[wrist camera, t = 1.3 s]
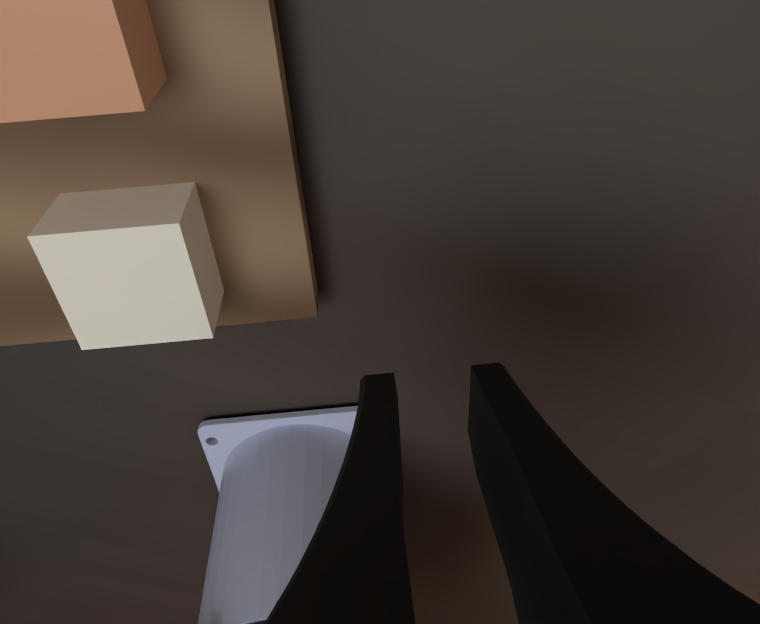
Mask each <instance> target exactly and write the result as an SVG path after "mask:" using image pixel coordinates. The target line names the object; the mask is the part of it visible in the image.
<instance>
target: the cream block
mask: <svg viewBox="0 0 760 624" xmlns="http://www.w3.org/2000/svg"><path fill="white" fill-rule="evenodd" d="M27 238H28V240H29V242H30V244H31V246H32V248H33V250H34V252H35V254H36V256H37V258H38V260H39V262H40V264H41V267H42V269H43V271H44V273H45V275H46V277H47V279H48V281H49V283H50V285H51V287H52V289H53V291H54V293H55V295H56V298H57V300H58V302H59V304H60V306H61V308H62V310H63V312H64V314H65V316H66V318H67V320H68V322H69V324H70V326H71V329H72V331H73V333H74V335H75V337H76V339H77V341H78V343H79V345H80V347H81V349H82V350H88V349H99V348H110V347H121V346H132V345H142V344H153V343H164V342H175V341H186V340H197V339H208V338H213V337H214V333H215V328H216V324H217V320H218V315H219V311H220V306H221V302H222V298H223V293H224V288H223V285H222V281H221V277H220V273H219V270H218V266H217V262H216V259H215V255H214V251H213V247H212V244H211V240H210V236H209V233H208V229H207V225H206V221H205V218H204V214H203V210H202V206H201V203H200V199H199V195H198V192H197V188H196V184H195V182H190V183H178V184H167V185H155V186H143V187H132V188H120V189H109V190H97V191H85V192H74V193H62V194H59V196H58V197H57V198H56V199H55V201H54V202H53V203H52V205H51V206H50V207H49V209H48V210H47V211H46V212H45V214H44V215H43V216H42V218H41V219H40V220H39V222H38V223H37V224H36V225H35V227H34V228H33V229H32V231H31V232H30V233H29V235H28V236H27Z"/></svg>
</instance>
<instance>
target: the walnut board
mask: <svg viewBox="0 0 760 624" xmlns="http://www.w3.org/2000/svg"><path fill="white" fill-rule="evenodd" d="M146 2H147V5H148V9H149V13H150V17H151V20H152V24H153V28H154V32H155V35H156V39H157V43H158V46H159V50H160V54H161V58H162V61H163V65H164V69H165V72H166V76H167V80H166V81H165V83H164V84H163V86H162V87H161V89H160V90H159V92H158V93H157V95H156V96H155V97H154V99H153V100H152V102H151V103H150V105H149V106H148V108H147V109H146V111H139V112H127V113H115V114H103V115H91V116H79V117H67V118H55V119H43V120H31V121H19V122H7V123H0V346H8V345H19V344H30V343H41V342H52V341H63V340H74V339H76V337H75V335H74V333H73V331H72V329H71V326H70V324H69V322H68V320H67V318H66V316H65V314H64V312H63V310H62V308H61V306H60V304H59V302H58V300H57V298H56V295H55V293H54V291H53V289H52V287H51V285H50V283H49V281H48V279H47V277H46V275H45V273H44V271H43V269H42V267H41V264H40V262H39V260H38V258H37V256H36V254H35V252H34V250H33V248H32V246H31V244H30V242H29V240H28V238H27V236H28V235H29V233H30V232H31V231H32V229H33V228H34V227H35V225H36V224H37V223H38V222H39V220H40V219H41V218H42V216H43V215H44V214H45V212H46V211H47V210H48V209H49V207H50V206H51V205H52V203H53V202H54V201H55V199H56V198H57V197H58V196H59V194H62V193H74V192H85V191H97V190H109V189H120V188H132V187H143V186H155V185H167V184H178V183H190V182H195V184H196V188H197V192H198V195H199V199H200V203H201V206H202V210H203V214H204V218H205V221H206V225H207V229H208V233H209V236H210V240H211V244H212V247H213V251H214V255H215V259H216V262H217V266H218V270H219V273H220V277H221V281H222V285H223V288H224V293H223V298H222V302H221V306H220V311H219V315H218V320H217V324H216V326H227V325H238V324H249V323H260V322H271V321H282V320H293V319H304V318H315V317H318V289H317V282H316V275H315V269H314V262H313V255H312V249H311V242H310V235H309V229H308V222H307V216H306V209H305V202H304V196H303V189H302V182H301V176H300V169H299V162H298V156H297V149H296V143H295V136H294V129H293V123H292V116H291V109H290V103H289V96H288V89H287V83H286V76H285V70H284V63H283V56H282V50H281V43H280V36H279V30H278V23H277V16H276V10H275V3H274V0H146Z"/></svg>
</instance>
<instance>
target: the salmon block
mask: <svg viewBox="0 0 760 624" xmlns="http://www.w3.org/2000/svg"><path fill="white" fill-rule="evenodd" d="M166 80H167V76H166V72H165V69H164V65H163V61H162V58H161V54H160V50H159V46H158V43H157V39H156V35H155V32H154V28H153V24H152V20H151V17H150V13H149V9H148V5H147V2H146V0H0V123H7V122H19V121H31V120H43V119H55V118H67V117H79V116H91V115H103V114H115V113H127V112H139V111H146V109H147V108H148V106H149V105H150V103H151V102H152V100H153V99H154V97H155V96H156V95H157V93H158V92H159V90H160V89H161V87H162V86H163V84H164V83H165V81H166Z"/></svg>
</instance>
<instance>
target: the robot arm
mask: <svg viewBox="0 0 760 624" xmlns="http://www.w3.org/2000/svg"><path fill="white" fill-rule="evenodd" d="M468 432H469V438H470V443H471V449H472V454H473V459H474V464H475V469H476V474H477V477H478V481H479V484H480V487H481V490H482V494H483V497H484V500H485V503H486V507H487V510H488V513H489V516H490V519H491V523H492V526H493V529H494V532H495V535H496V539H497V542H498V545H499V548H500V551H501V555H502V558H503V561H504V564H505V567H506V571H507V575H508V578H509V582H510V586H511V589H512V594H513V599H514V603H515V608H516V613H517V617H518V622H519V624H760V604H758V603H756V602H755V601H753V600H752V599H750V598H749V597H747V596H745V595H744V594H742V593H741V592H739V591H737V590H736V589H734V588H733V587H731V586H730V585H728V584H727V583H726V582H724V581H723V580H721V579H720V578H718V577H717V576H716V575H714V574H713V573H711V572H710V571H708V570H707V569H706V568H704V567H703V566H701V565H700V564H698V563H697V562H696V561H695V560H693V559H692V558H691V557H689V556H688V555H687V554H686V553H684V552H683V551H682V550H680V549H679V548H678V547H676V546H675V545H674V544H673V543H671V542H670V541H669V540H667V539H666V538H665V537H663V536H662V535H661V534H660V533H658V532H657V531H656V530H654V529H653V528H652V527H651V526H650V525H648V524H647V523H646V522H645V521H644V520H643V519H641V518H640V517H639V516H638V515H637V514H636V513H634V512H633V511H632V510H631V509H630V508H629V507H627V506H626V505H625V504H624V503H623V502H622V501H621V500H620V499H619V498H618V497H616V496H615V495H614V494H613V493H612V492H611V491H610V490H609V489H608V488H607V487H606V486H605V485H604V484H603V483H602V482H600V481H599V480H598V479H597V478H596V477H595V476H594V475H593V474H592V473H591V472H590V471H589V469H588V468H587V467H586V466H585V465H584V464H583V463H582V462H581V461H580V460H579V459H578V458H577V457H576V456H575V455H574V454H573V453H572V452H571V450H570V449H569V448H568V447H567V446H566V445H565V444H564V443H563V442H562V440H561V439H560V438H559V437H558V436H557V435H556V433H555V432H554V431H553V430H552V429H551V428H550V426H549V425H548V424H547V423H546V422H545V421H544V419H543V418H542V417H541V416H540V414H539V413H538V412H537V411H536V409H535V408H534V407H533V406H532V404H531V403H530V402H529V400H528V399H527V398H526V397H525V395H524V394H523V393H522V391H521V390H520V388H519V387H518V386H517V384H516V383H515V382H514V380H513V379H512V377H511V376H510V374H509V373H508V371H507V370H506V368H505V367H504V366H503V365H502V364H500V363H492V364H482V365H471V378H470V400H469V421H468ZM198 436H199V439H200V441H201V444H202V447H203V450H204V452H205V455H206V458H207V460H208V463H209V466H210V469H211V471H212V474H213V477H214V479H215V482H216V485H217V488H218V490H219V499H218V505H217V511H216V517H215V523H214V529H213V536H212V542H211V548H210V554H209V560H208V566H207V572H206V578H205V584H204V591H203V597H202V603H201V609H200V615H199V621H198V624H415V617H414V609H413V602H412V594H411V587H410V579H409V571H408V563H407V556H406V548H405V540H404V523H403V479H402V462H401V445H400V427H399V410H398V396H397V390H396V384H395V378H394V373H385V374H375V375H365V376H364V377H363V378H362V379H361V380H360V394H359V402H358V406H350V407H339V408H328V409H318V410H307V411H297V412H286V413H276V414H265V415H255V416H244V417H234V418H223V419H212V420H206V421H203V422H201V423H200V425H199V427H198ZM210 437H211V438H210Z"/></svg>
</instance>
